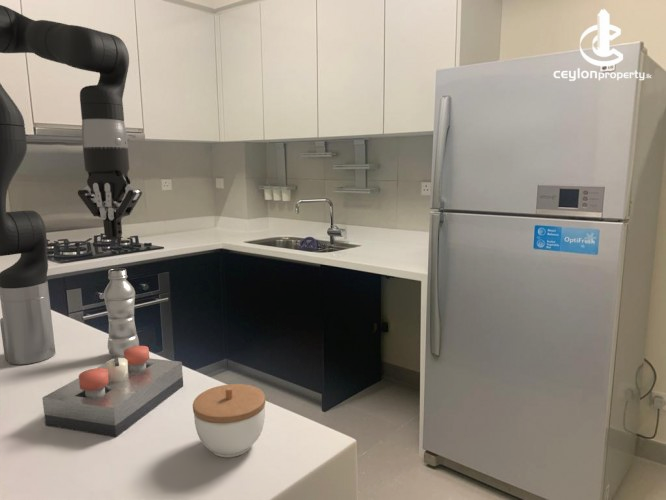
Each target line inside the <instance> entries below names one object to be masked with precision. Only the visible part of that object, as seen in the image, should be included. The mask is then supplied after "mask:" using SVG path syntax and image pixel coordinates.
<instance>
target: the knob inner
mask: <svg viewBox="0 0 666 500" xmlns="http://www.w3.org/2000/svg"><path fill="white" fill-rule="evenodd" d="M124 358H125V359H127V361H128V364H129V371H135V372H141V371H143V370H144V369H146V361H148V360H149V358H150V349H149V347H148V346H147V345H139V346H134V347H130V348H127V349H125V350H124Z"/></svg>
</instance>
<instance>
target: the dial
mask: <svg viewBox="0 0 666 500" xmlns="http://www.w3.org/2000/svg"><path fill="white" fill-rule="evenodd" d="M105 363H106V369H107V370H108V379H109V382H112V383H115V382H121V381H124V380H126V379H127V378H128V361H127V359H125V358H118V357H113V358H112V359H109V360H107V361H106V362H105Z"/></svg>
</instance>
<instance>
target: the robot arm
mask: <svg viewBox="0 0 666 500" xmlns="http://www.w3.org/2000/svg"><path fill="white" fill-rule="evenodd" d="M0 53H1V54H27V53H28V54H34V55H35V56H38V57H40V58H41V59H45V60H49V61H51V62H55V63H59V64H63V65H66V66H69V67H71V68H75V69H79V70H81V71H86V72H87V71H88V72H93V73H99V78H98V83H97V84H93V85H86V86H84V87H82V88H81V89H80V92H79V103H80V113H81V115H80V116H81V140H82V153H83V162H84V163H83V164H84V170H85V172H87V174H88V178H87V180H86V184H87V185H86V186H85V187H84V188H83V189H79V190H78V191H77V195H78V196H79V198H80V200H81V201H82V202H83V204H85V206H86V207H87V209H88V210H89V212H91V214H92V216H93V217H98V218H100V219H101V220H102V221H103V231H104V236H105V238H106V240H107V241H110V240H111V241H115V240H120V239H121V238H122V235H123V228H122V226H123V225H122V219H123V218H125V217H128V216H130V215H131V213H132V212H133V210H134V208H135V206H136V205H137V203H138V201H139V200H140V198H141V197H142V195H143V191H142V189H140V188H139V189H137V188H136V187H134V186H133V185H132V183H131V182H132V181H131V179H130V177H129V174H128V173H129V171H130V160H129V144H128V134H127V129H126V126H125V115H124V104H123V99H124V98H123V97H124V94H125V93H124V92H125V88H126V82H127V77H128V71H129V66H130V56H129V55H130V54H129V51H128V47H127V46H126V44H125V42H124V40H123V39H122V38H120V37H119V36H117V35H115V34H112V33H108V32H103V31H101V30H96V29H92V28H89V27H86V26H81V25H75V24H74V25H73V24H68V23H67V24H66V23H62V22H58V21H52V20H46V19H45V20H44V19H38V20H34V19H32V18H30V17H27V16H25V15H24V14H21V13H19V12H18V11H16V10H14V9H12V8H9V7H8V6H5V5H2V4H0ZM25 124H26V123H25V119H24V117H23V115H22V112H21V111H20V109H19V107H18V105H17V104H16V103H15V101H14V100H13V99H12V97H11V96H10V94H8V92H7V91H6V89H5V87H4V86H3V85H2V83H0V257H5V256H12V255H19V254H20V257H19V259H18V260H17V261H16V262H15V263H14V264H12V265H11V266H9V267H7V268H5V269H3V270H2V271H0V306H1V313H2V314H1V315H2V318H0V332H1V340H2V348H3V355H4V360H5V361H8V363H10V364H13V365H28V364H35V363H38V362H42V361H45V360H48V359H50V358H52V357H53V356H55V354H56V345H55V337H54V334H55V333H54V327H53V319H52V310H51V309H52V308H51V302H50V301H51V300H50V291H49V283H48V270H49V260H48V259H49V258H48V245H47V244H48V242H47V241H48V239H47V231H46V230H47V229H46V225H45V221H44V219H43V218H42V216H41V215H40V214H39V213H38V212H37V211H34V210H17V211H16V210H15V211H7V207H6V206H7V205H6V204H7V194H8V190H9V187H10V184H11V182H12V180H13V178H14V176H15V174H16V173H17V171H18V169H19V168H20V166H21V164H22V162H23V161H24V158H25V156H26V154H27V151H28V149H27V148H28V145H27V144H28V143H27V136H26V134H27V133H26V125H25Z"/></svg>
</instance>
